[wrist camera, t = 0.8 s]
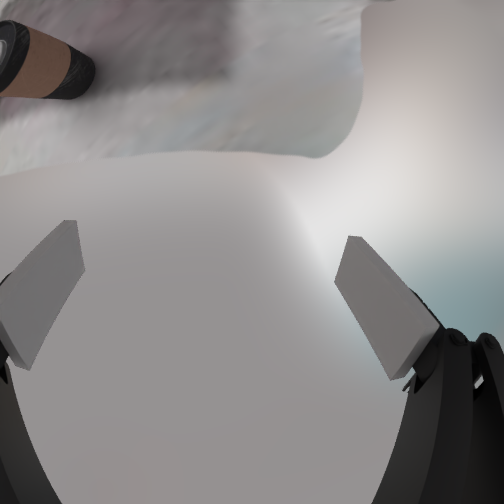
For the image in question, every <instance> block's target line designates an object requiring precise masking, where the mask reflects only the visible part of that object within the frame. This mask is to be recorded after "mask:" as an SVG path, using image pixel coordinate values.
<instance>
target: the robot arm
mask: <svg viewBox="0 0 504 504" xmlns="http://www.w3.org/2000/svg"><path fill="white" fill-rule="evenodd" d="M84 271H85V267H84V262H83V257H82V252H81V246H80V240H79V235H78V227H77V221H76V220H64V221H63V222H62V223H60V224H59V225H58V226H57V227H56V228H55V229H54V230H53V231H52V232H51V233H50V234H49V235H48V236H46V238H44V239H43V240H42V241H41V242H40V244H38V245H37V246H36V247H35V248H34V249H33V250H32V251H31V252H30V253H29V254H28V255H27V257H26V258H25V259H24V260H23V261H22V262H21V263H20V264H19V265H18V266H17V267H16V269H15V270H14V271H13V272H11V273H10V274H8V275H7V276H6V277H5V278H4V279H3V280H2V282H1V283H0V504H62V503H61V502H60V500H59V498H58V496H57V495H56V493H55V491H54V489H53V488H52V486H51V484H50V482H49V480H48V479H47V476H46V474H45V472H44V470H43V468H42V466H41V464H40V462H39V459H38V457H37V455H36V453H35V450H34V448H33V446H32V443H31V440H30V438H29V435H28V432H27V430H26V427H25V424H24V421H23V418H22V415H21V412H20V408H19V405H18V402H17V398H16V394H15V391H14V387H13V382H12V378H11V374H10V369H9V366H8V364H7V363H6V360H7V358H8V356H10V358H11V360H12V361H13V363H14V364H15V366H17V367H20V368H23V369H26V370H30V369H31V367H32V365H33V362H34V360H35V358H36V356H37V354H38V352H39V350H40V348H41V346H42V344H43V342H44V340H45V338H46V336H47V334H48V332H49V330H50V328H51V326H52V325H53V323H54V320H55V319H56V317H57V316H58V314H59V312H60V310H61V309H62V307H63V305H64V303H65V302H66V300H67V298H68V297H69V295H70V293H71V292H72V290H73V289H74V287H75V285H76V284H77V282H78V281H79V279H80V278H81V276H82V274H83V273H84ZM334 282H335V284H336V286H337V287H338V289H339V291H340V292H341V294H342V296H343V297H344V299H345V301H346V302H347V304H348V306H349V308H350V309H351V311H352V312H353V314H354V316H355V318H356V320H357V321H358V323H359V325H360V326H361V328H362V330H363V332H364V333H365V335H366V337H367V339H368V341H369V342H370V344H371V346H372V348H373V350H374V351H375V353H376V355H377V357H378V359H379V360H380V362H381V364H382V366H383V368H384V370H385V372H386V374H387V376H388V377H389V379H390V381H391V380H394V379H399V378H402V377H405V376H406V374H407V373H408V372H409V370H410V369H411V368H412V367H413V369H414V370H415V372H416V373H415V374H414V375H413V376H412V378H411V379H410V380H409V381H408V383H407V384H406V385H405V386H404V388H403V390H402V391H405V390H406V389H407V388H408V387H409V386H410V388H409V391H408V398H407V402H406V406H405V410H404V415H403V418H402V422H401V426H400V430H399V433H398V436H397V439H396V442H395V446H394V449H393V452H392V455H391V458H390V460H389V463H388V466H387V468H386V471H385V474H384V476H383V479H382V481H381V484H380V486H379V488H378V491H377V493H376V496H375V497H374V500H373V502H372V504H504V354H503V351H502V349H501V346H500V344H499V342H498V341H497V340H496V339H495V337H494V336H492V335H491V334H488V333H481V334H480V336H479V337H478V339H477V340H476V342H472V341H469V340H468V339H467V338H466V336H465V335H463V333H462V332H460V331H458V330H457V329H453V328H447V329H445V328H444V326H443V325H442V324H441V323H440V321H439V320H438V319H437V317H436V316H435V315H434V314H433V313H432V311H431V310H430V309H428V307H427V305H426V304H425V303H423V301H422V299H420V297H419V296H418V295H417V294H416V293H415V292H414V291H412V290H411V289H410V288H408V287H407V285H406V284H405V283H404V282H403V281H402V280H401V279H400V277H399V276H398V275H397V274H396V273H395V272H394V271H393V270H392V269H391V267H390V266H389V265H388V264H387V263H386V262H385V261H384V260H383V259H382V258H381V257H380V256H379V255H378V254H377V253H376V252H375V250H373V248H372V247H371V246H370V245H369V244H367V242H366V241H365V240H364V239H363V238H362V237H357V236H348V239H347V243H346V246H345V250H344V253H343V256H342V259H341V262H340V266H339V269H338V272H337V275H336V278H335V281H334ZM481 376H483V380H484V381H483V382H482V384H481V385H480V386H479V387H478V388H477V389H476V388H475V386H474V384H475V383H476V382H477V381H478V379H479V378H480V377H481Z"/></svg>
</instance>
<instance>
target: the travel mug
mask: <svg viewBox="0 0 504 504" xmlns="http://www.w3.org/2000/svg"><path fill="white" fill-rule="evenodd" d="M94 75H95V66H94V63H93V61H92V60H91V59H90V58H89V57H88V56H86V55H85V54H83V53H81V52H80V51H78V50H76V49H75V48H73V47H71V46H70V45H68V44H66V43H64V42H63V41H60V40H58V39H56V38H54V37H52V36H49V35H47V34H45V33H42V32H40V31H38V30H35V29H33V28H30V27H28V26H25V25H23V24H20V23H17V22H15V21H11V20H4V21H1V22H0V96H3V97H25V98H44V99H74V98H76V97H78V96H80V95H82V94H83V93H84V92H85V91H86V90H87V89H88V88H89V86H90V85H91V83H92V81H93V78H94Z"/></svg>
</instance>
